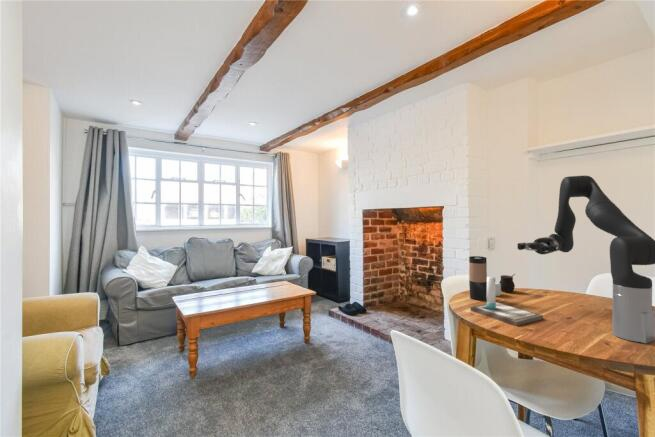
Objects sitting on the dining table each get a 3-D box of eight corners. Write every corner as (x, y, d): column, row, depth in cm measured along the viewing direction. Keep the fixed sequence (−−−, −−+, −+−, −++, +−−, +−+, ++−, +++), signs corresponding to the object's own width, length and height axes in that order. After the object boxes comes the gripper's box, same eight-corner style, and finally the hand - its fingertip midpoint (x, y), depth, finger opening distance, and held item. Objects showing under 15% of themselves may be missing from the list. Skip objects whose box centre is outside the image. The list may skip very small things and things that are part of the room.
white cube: (500, 295, 152) (500, 283, 152) (492, 296, 150) (492, 284, 150) (490, 292, 158) (490, 280, 158) (481, 293, 156) (481, 282, 155)
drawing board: (543, 319, 118) (543, 314, 118) (516, 326, 112) (516, 321, 112) (496, 305, 136) (496, 301, 136) (470, 310, 130) (470, 306, 130)
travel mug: (488, 298, 147) (488, 257, 147) (484, 301, 142) (483, 259, 141) (472, 295, 153) (472, 255, 152) (467, 298, 147) (466, 257, 147)
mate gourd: (499, 288, 164) (499, 270, 164) (516, 290, 160) (516, 272, 159) (497, 291, 158) (497, 272, 158) (514, 294, 154) (514, 274, 154)
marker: (497, 308, 126) (497, 277, 125) (492, 310, 124) (491, 278, 124) (490, 306, 129) (490, 276, 128) (484, 307, 127) (484, 277, 127)
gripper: (528, 236, 146) (512, 238, 137) (564, 238, 134) (549, 240, 125) (528, 252, 146) (512, 255, 137) (564, 255, 134) (549, 258, 125)
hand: (529, 248), depth 131 cm, fingers open, 8 cm apart
